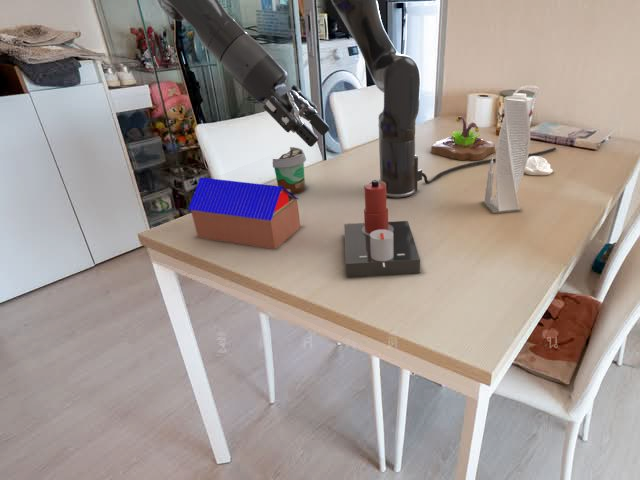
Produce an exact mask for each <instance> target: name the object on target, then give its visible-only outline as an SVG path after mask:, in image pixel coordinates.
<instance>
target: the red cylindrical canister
mask: <svg viewBox="0 0 640 480" xmlns="http://www.w3.org/2000/svg"><path fill="white" fill-rule="evenodd" d="M363 187H364V188H363V190H364V209H363V219H364V222H363V223H365V231H366V232H367V233H371V232H373V231H375V230H381V229H383V230H388V222H389V208H388V207H387V206H388V205H387V196H386V185H385V184H383V183H379V179H372V180H371V182H368V183H366V184H364V186H363Z"/></svg>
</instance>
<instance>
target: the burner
mask: <svg viewBox="0 0 640 480" xmlns="http://www.w3.org/2000/svg"><path fill="white" fill-rule="evenodd" d="M388 230H389V231H391V232H393V231H394V228H393V227H392V226H391V225H389V224H388ZM362 233H363V234H365V235H367V236H370V233H367V232H366V231H365V226H364V227H363V228H362Z"/></svg>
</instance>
